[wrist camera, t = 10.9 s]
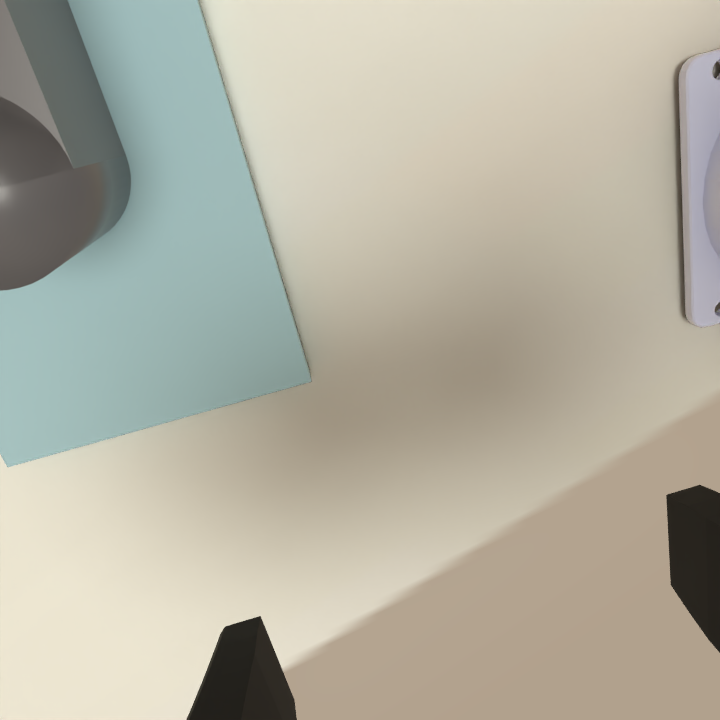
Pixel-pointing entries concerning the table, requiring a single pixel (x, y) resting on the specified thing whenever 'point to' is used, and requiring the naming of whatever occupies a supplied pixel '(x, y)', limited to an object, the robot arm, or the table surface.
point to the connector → (52, 144)
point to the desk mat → (152, 259)
